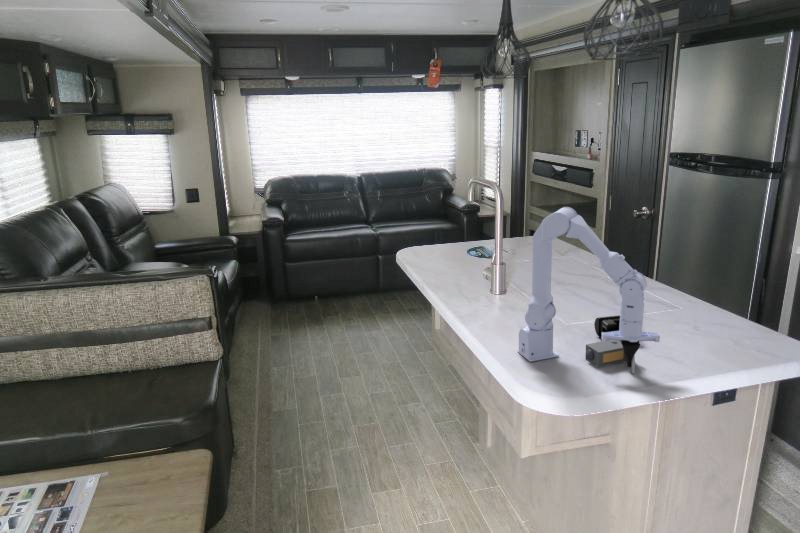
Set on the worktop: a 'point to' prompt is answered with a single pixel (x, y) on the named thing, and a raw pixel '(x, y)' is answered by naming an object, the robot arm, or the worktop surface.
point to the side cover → (633, 364)
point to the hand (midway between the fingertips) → (628, 365)
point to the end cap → (607, 324)
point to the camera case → (605, 353)
